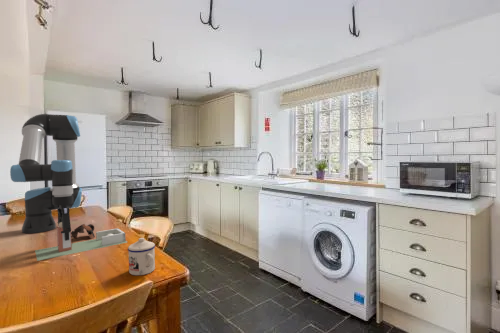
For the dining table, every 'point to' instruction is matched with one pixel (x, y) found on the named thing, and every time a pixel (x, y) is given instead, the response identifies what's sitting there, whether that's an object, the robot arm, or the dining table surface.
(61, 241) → the red tall block
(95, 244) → the felt mat
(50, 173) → the robot arm
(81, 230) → the pottery mug
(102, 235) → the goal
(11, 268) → the dining table surface
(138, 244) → the teacup with lid
